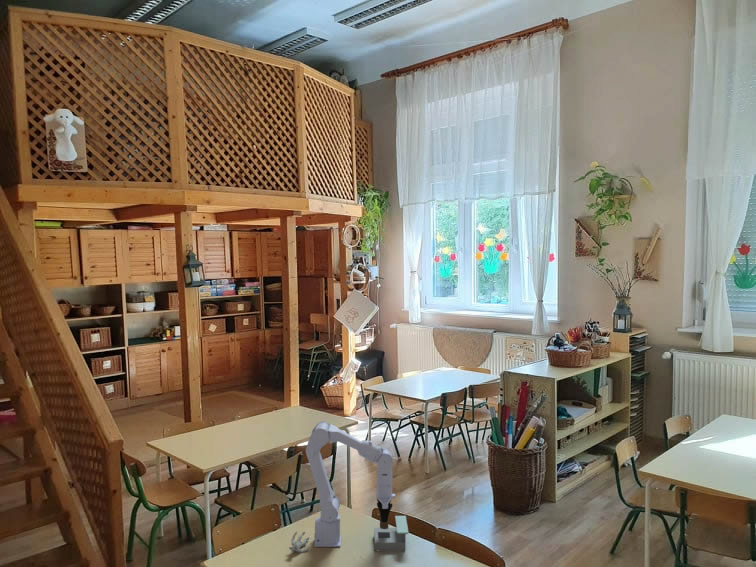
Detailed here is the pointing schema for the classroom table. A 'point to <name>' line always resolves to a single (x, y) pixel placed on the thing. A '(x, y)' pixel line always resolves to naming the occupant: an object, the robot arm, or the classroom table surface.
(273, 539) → the classroom table surface
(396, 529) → the socket block
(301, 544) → the grey branched piece
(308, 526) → the classroom table surface
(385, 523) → the peg
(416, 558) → the classroom table surface
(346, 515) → the classroom table surface
